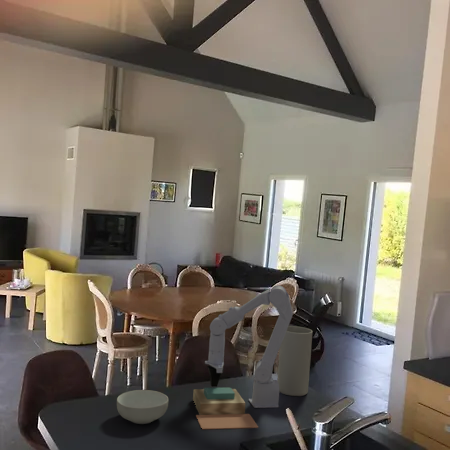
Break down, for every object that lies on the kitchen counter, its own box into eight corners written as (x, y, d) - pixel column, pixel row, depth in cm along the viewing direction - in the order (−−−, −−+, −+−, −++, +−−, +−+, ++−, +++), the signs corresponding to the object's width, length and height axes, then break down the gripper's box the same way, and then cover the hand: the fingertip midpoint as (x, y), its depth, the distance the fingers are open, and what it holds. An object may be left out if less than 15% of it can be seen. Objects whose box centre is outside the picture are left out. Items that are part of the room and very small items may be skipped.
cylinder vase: (290, 384, 220) (294, 325, 219) (314, 393, 211) (318, 331, 210) (270, 389, 211) (274, 328, 211) (294, 399, 202) (298, 334, 201)
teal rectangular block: (230, 392, 192) (230, 387, 192) (234, 398, 187) (234, 393, 187) (203, 393, 190) (204, 387, 190) (206, 399, 184) (207, 393, 184)
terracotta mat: (249, 414, 183) (249, 413, 183) (258, 427, 173) (258, 426, 173) (195, 415, 179) (195, 415, 179) (201, 429, 168) (201, 428, 168)
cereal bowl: (147, 405, 185) (148, 386, 185) (177, 421, 173) (178, 400, 173) (105, 416, 173) (107, 395, 173) (134, 434, 161) (136, 411, 161)
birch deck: (234, 399, 197) (235, 389, 197) (244, 414, 184) (245, 402, 183) (192, 400, 193) (193, 389, 193) (199, 415, 180) (200, 403, 180)
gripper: (202, 344, 202) (200, 379, 203) (210, 355, 188) (207, 392, 189) (220, 345, 204) (217, 379, 204) (229, 355, 190) (226, 392, 190)
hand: (214, 386), depth 197 cm, fingers closed
